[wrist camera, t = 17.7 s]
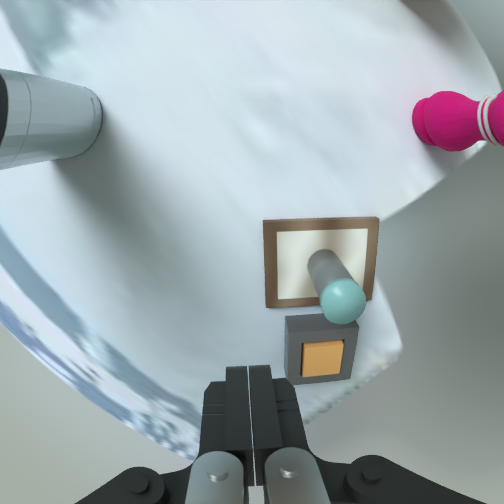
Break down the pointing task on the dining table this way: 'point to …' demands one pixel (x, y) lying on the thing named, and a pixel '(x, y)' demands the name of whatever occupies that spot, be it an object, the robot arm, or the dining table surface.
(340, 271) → the marker
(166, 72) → the dining table surface
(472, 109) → the pepper mill
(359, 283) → the board
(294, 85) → the dining table surface
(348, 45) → the dining table surface
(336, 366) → the button
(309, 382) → the button housing
